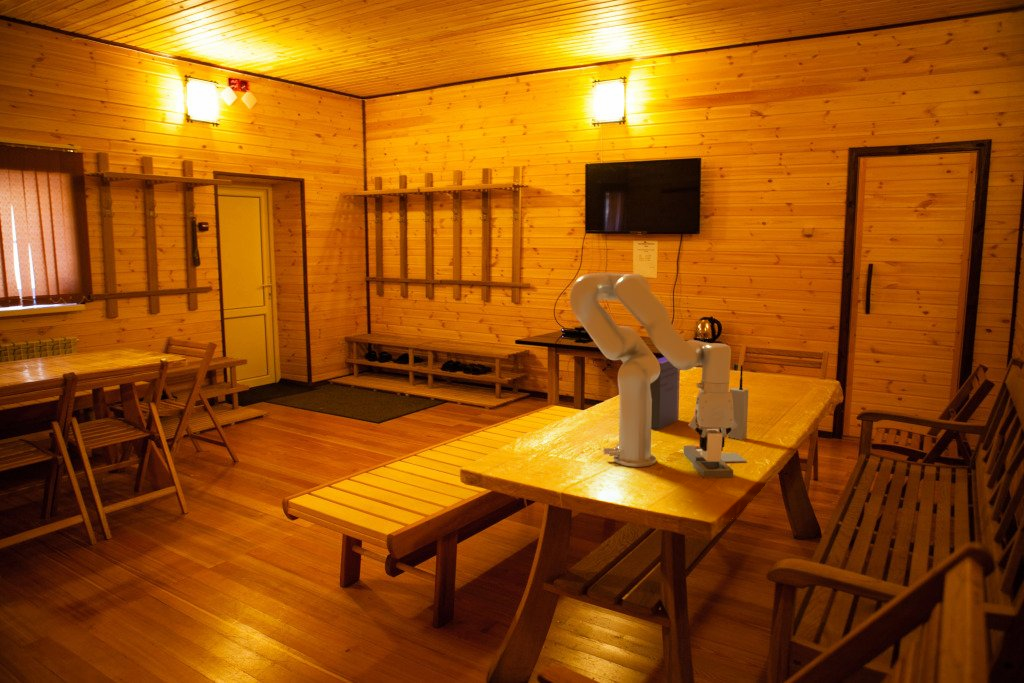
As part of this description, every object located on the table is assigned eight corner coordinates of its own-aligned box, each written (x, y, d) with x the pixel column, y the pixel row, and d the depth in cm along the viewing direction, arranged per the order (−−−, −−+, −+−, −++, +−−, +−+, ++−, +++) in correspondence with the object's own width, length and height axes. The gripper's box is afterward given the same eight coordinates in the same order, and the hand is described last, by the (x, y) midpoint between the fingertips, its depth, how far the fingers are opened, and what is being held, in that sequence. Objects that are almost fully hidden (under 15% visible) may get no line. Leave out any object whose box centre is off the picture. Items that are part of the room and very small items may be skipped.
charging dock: (703, 477, 198) (704, 465, 198) (681, 455, 220) (681, 443, 219) (733, 477, 199) (733, 464, 198) (708, 454, 220) (708, 443, 220)
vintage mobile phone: (732, 435, 241) (734, 363, 238) (746, 438, 238) (749, 364, 234) (727, 438, 238) (730, 364, 235) (742, 440, 235) (745, 366, 232)
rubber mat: (720, 463, 212) (720, 461, 211) (711, 455, 219) (711, 453, 219) (746, 462, 212) (746, 460, 212) (736, 454, 220) (736, 452, 220)
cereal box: (666, 418, 265) (667, 355, 262) (678, 420, 262) (680, 356, 259) (646, 428, 251) (647, 361, 248) (659, 430, 248) (660, 363, 245)
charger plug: (707, 461, 200) (708, 433, 199) (701, 455, 205) (703, 428, 204) (720, 461, 201) (722, 433, 199) (715, 455, 206) (716, 428, 204)
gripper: (690, 390, 196) (686, 453, 199) (749, 390, 197) (745, 453, 199) (682, 384, 203) (679, 445, 206) (739, 384, 204) (735, 445, 207)
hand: (711, 449), depth 203 cm, fingers closed on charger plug, 4 cm apart
